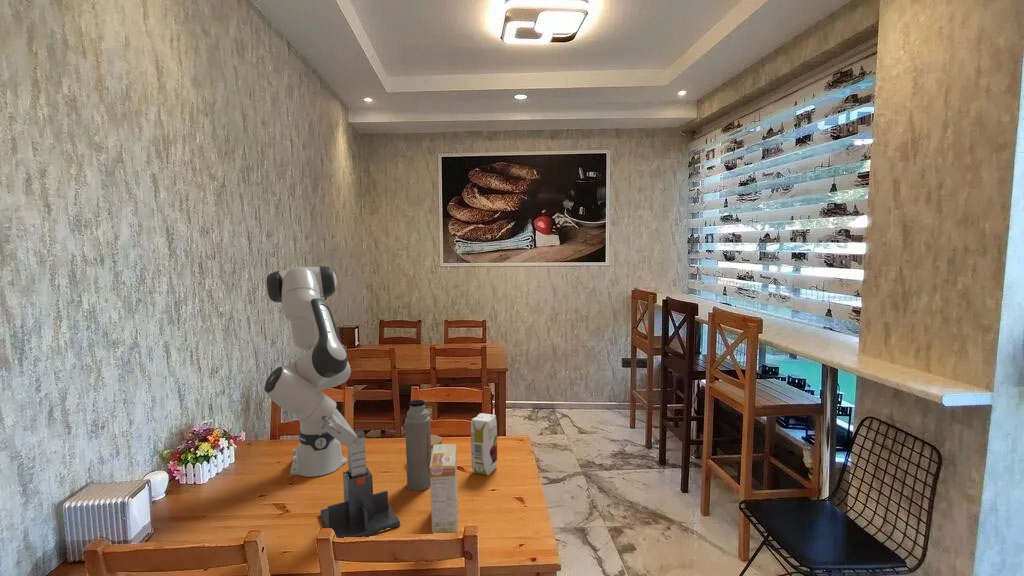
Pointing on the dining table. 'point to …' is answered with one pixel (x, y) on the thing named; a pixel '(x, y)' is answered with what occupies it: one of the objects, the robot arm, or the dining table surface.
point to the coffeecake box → (444, 488)
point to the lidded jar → (435, 441)
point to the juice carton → (484, 443)
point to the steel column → (357, 457)
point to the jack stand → (360, 509)
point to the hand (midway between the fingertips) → (358, 439)
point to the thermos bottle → (418, 446)
